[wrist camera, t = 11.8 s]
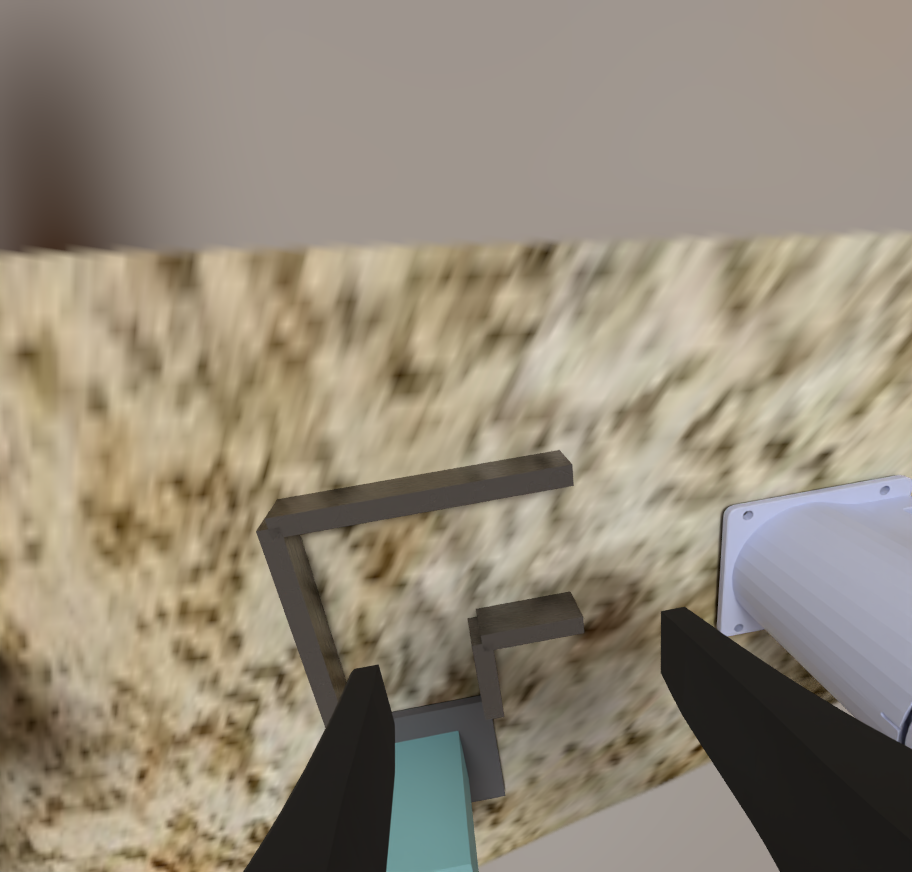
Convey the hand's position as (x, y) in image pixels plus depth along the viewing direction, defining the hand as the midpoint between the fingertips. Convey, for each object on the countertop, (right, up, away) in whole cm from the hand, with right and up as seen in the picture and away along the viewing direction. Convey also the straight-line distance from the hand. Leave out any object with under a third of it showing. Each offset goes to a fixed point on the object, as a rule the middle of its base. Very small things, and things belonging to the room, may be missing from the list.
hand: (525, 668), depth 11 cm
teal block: (-3, -13, +14) cm, 20 cm away
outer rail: (-3, -2, +11) cm, 12 cm away
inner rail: (+2, -5, +13) cm, 14 cm away
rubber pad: (-3, -13, +15) cm, 20 cm away
